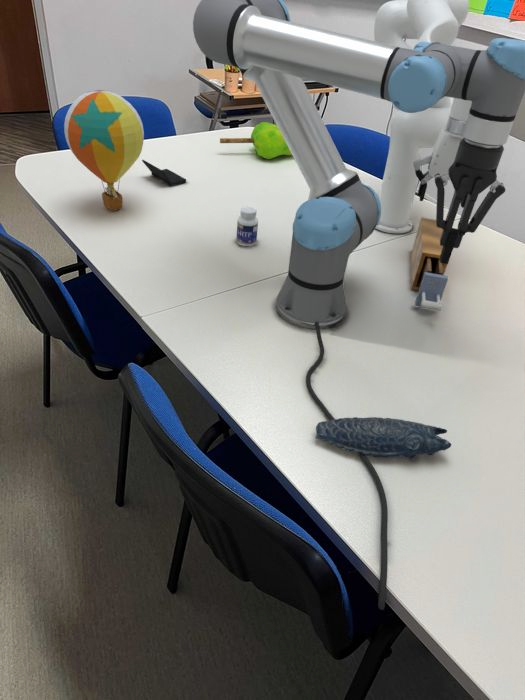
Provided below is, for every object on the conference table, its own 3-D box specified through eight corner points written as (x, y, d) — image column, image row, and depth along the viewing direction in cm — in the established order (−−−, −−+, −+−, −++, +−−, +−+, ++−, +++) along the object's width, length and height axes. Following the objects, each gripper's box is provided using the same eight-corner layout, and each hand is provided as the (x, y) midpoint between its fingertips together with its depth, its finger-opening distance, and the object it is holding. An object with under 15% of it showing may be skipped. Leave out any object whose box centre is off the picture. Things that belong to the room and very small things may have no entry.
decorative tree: (217, 118, 187) (297, 118, 193) (217, 148, 194) (295, 147, 199) (223, 133, 174) (309, 132, 179) (223, 164, 180) (306, 163, 185)
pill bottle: (233, 243, 134) (234, 211, 128) (240, 235, 138) (242, 203, 132) (252, 248, 133) (254, 215, 127) (259, 239, 137) (261, 208, 131)
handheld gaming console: (190, 175, 164) (173, 153, 156) (179, 193, 163) (161, 172, 155) (166, 170, 170) (147, 148, 162) (155, 188, 169) (136, 167, 161)
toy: (64, 203, 145) (44, 85, 127) (127, 189, 156) (117, 79, 137) (97, 229, 134) (80, 105, 116) (162, 213, 145) (156, 96, 126)
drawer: (438, 323, 111) (449, 291, 106) (415, 318, 112) (425, 286, 107) (434, 270, 129) (443, 241, 124) (414, 267, 130) (423, 237, 125)
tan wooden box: (437, 294, 122) (449, 256, 116) (411, 289, 123) (422, 252, 117) (434, 256, 137) (445, 221, 131) (411, 252, 138) (421, 217, 132)
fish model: (449, 471, 80) (458, 449, 77) (314, 454, 81) (318, 432, 78) (442, 439, 86) (450, 418, 83) (315, 423, 87) (319, 401, 84)
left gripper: (517, 140, 93) (474, 257, 108) (444, 130, 95) (411, 246, 110) (525, 153, 88) (478, 274, 102) (446, 142, 89) (411, 263, 104)
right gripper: (502, 127, 114) (477, 202, 125) (423, 117, 117) (404, 191, 127) (508, 137, 109) (480, 214, 119) (424, 126, 111) (404, 202, 121)
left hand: (443, 260), depth 106 cm, fingers closed
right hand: (441, 202), depth 123 cm, fingers open, 9 cm apart
